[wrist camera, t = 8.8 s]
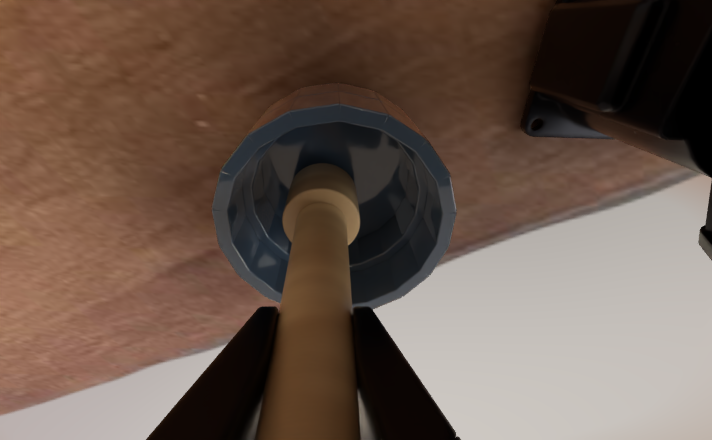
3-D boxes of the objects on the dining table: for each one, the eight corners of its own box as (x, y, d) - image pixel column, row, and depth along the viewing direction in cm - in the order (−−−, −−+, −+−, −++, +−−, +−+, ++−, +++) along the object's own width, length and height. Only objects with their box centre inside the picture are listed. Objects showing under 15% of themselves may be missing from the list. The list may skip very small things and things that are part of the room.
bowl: (438, 84, 13) (481, 108, 9) (411, 250, 17) (434, 314, 13) (233, 75, 13) (188, 98, 9) (255, 249, 17) (232, 316, 13)
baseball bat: (358, 163, 13) (483, 853, 2) (354, 222, 15) (419, 828, 4) (288, 161, 13) (36, 916, 2) (291, 221, 15) (153, 864, 3)
